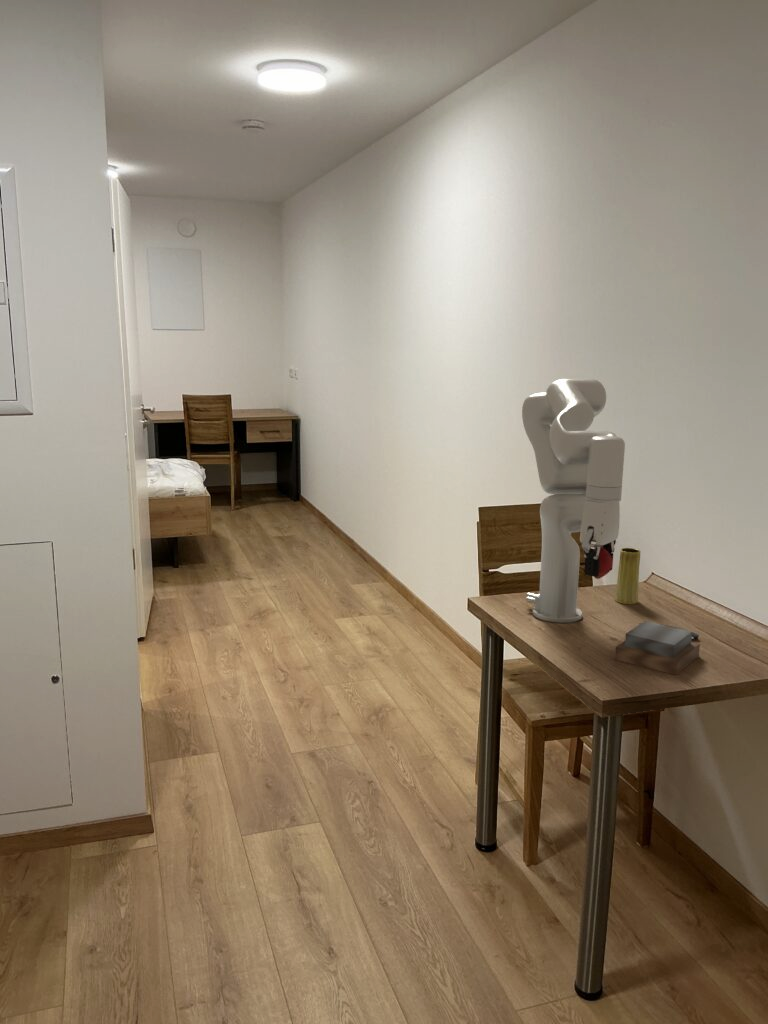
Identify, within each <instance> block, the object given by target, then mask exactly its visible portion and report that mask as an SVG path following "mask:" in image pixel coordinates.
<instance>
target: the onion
mask: <svg viewBox="0 0 768 1024" xmlns="http://www.w3.org/2000/svg"><path fill="white" fill-rule="evenodd" d="M592 549H593V550H594V552H595V549H596V548H592ZM598 559H600V563H599V576H598V577H594V578H595V579H597V580H600V579H601V578H603V577H605V576H606V575H608V573H610V572H611V571H612V570H611V568H612V569H613V567H612V564H614V561H613V562H612V557H611V555H610V554H609V552H608V551H607V550H606V549H604V548H603V547H602V546H601V547H600V552H599V556H598ZM610 570H611V571H610Z"/></svg>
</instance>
